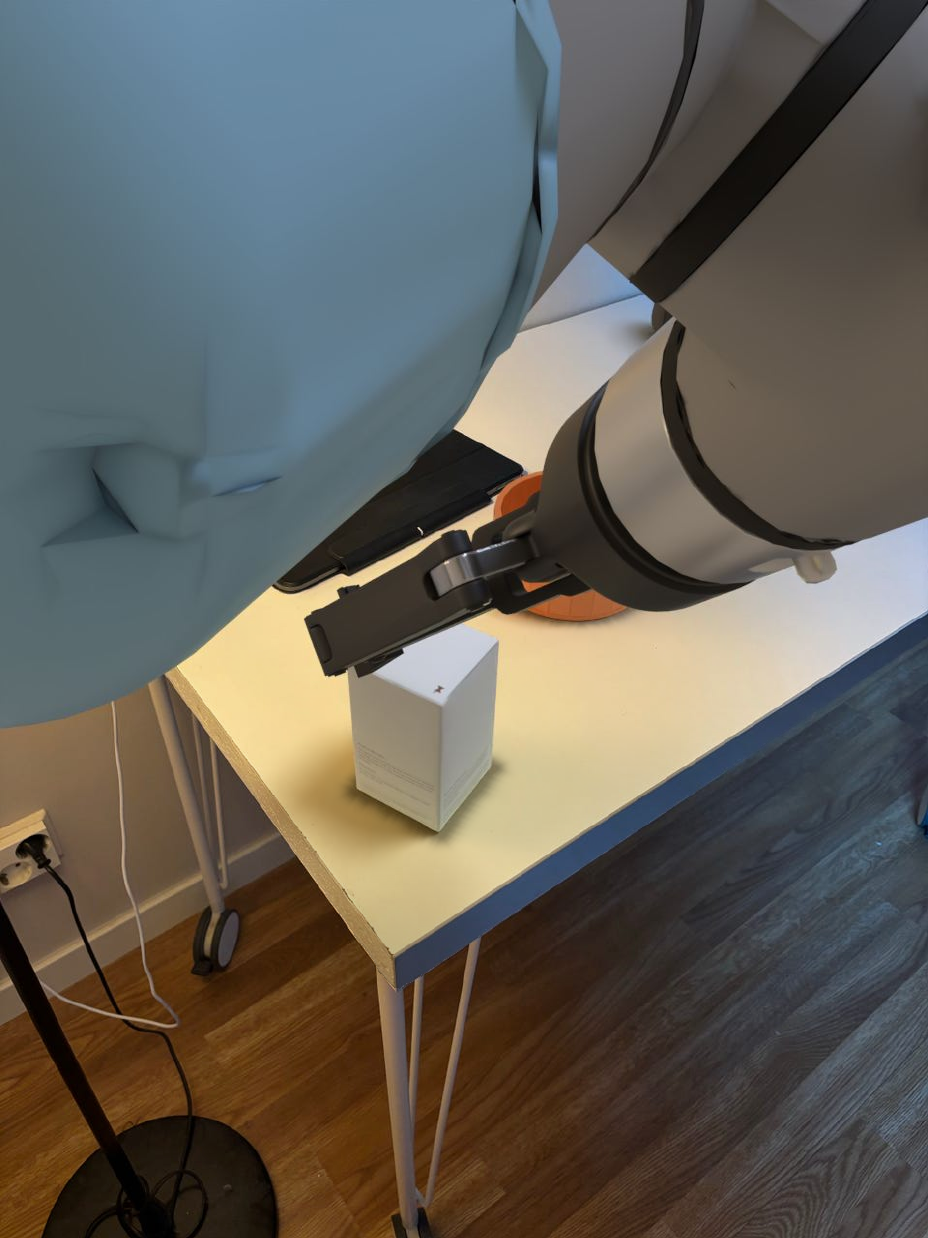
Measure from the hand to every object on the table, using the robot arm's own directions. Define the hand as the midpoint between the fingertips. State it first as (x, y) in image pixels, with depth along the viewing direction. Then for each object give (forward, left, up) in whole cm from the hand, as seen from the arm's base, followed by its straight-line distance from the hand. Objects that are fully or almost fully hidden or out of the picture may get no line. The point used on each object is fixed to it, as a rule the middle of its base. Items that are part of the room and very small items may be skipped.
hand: (480, 605), depth 48 cm
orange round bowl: (+12, +32, -23) cm, 41 cm away
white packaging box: (-2, +8, -23) cm, 24 cm away
